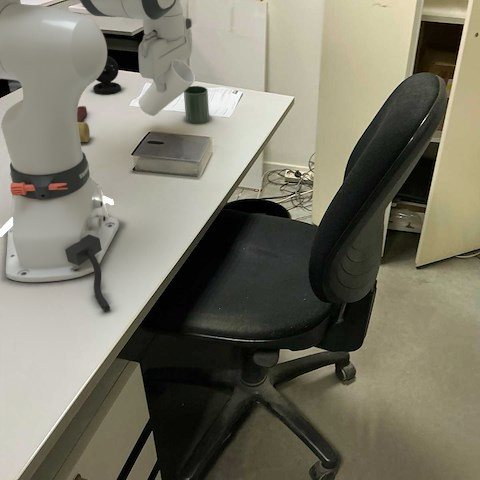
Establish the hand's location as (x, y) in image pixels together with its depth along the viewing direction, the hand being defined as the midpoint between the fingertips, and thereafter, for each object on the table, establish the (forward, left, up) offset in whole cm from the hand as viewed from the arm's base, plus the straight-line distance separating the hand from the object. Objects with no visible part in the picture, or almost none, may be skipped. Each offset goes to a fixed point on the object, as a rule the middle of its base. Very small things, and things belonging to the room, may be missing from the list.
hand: (169, 85), depth 132 cm
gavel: (+5, +24, -12) cm, 27 cm away
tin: (+8, -6, -12) cm, 15 cm away
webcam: (+31, +19, -12) cm, 38 cm away
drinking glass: (+3, +6, -7) cm, 9 cm away
